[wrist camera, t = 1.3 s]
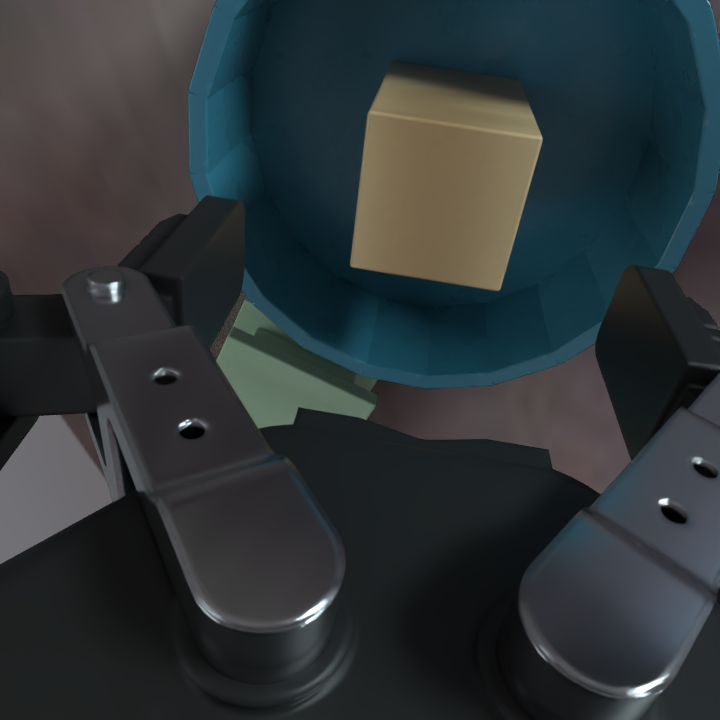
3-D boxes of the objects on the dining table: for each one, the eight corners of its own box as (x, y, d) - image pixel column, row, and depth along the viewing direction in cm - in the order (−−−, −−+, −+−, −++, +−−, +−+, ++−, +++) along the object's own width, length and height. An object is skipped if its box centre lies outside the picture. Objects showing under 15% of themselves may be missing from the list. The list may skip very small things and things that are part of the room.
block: (520, 79, 21) (544, 137, 15) (489, 203, 23) (500, 293, 18) (391, 59, 21) (367, 110, 15) (375, 185, 24) (349, 268, 18)
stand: (387, 358, 29) (380, 405, 26) (325, 450, 33) (313, 500, 30) (249, 290, 28) (226, 332, 25) (202, 394, 31) (177, 441, 29)
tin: (775, 32, 20) (869, 64, 15) (501, 364, 28) (509, 447, 24) (348, -253, 17) (309, -316, 13) (190, 207, 26) (133, 267, 21)
